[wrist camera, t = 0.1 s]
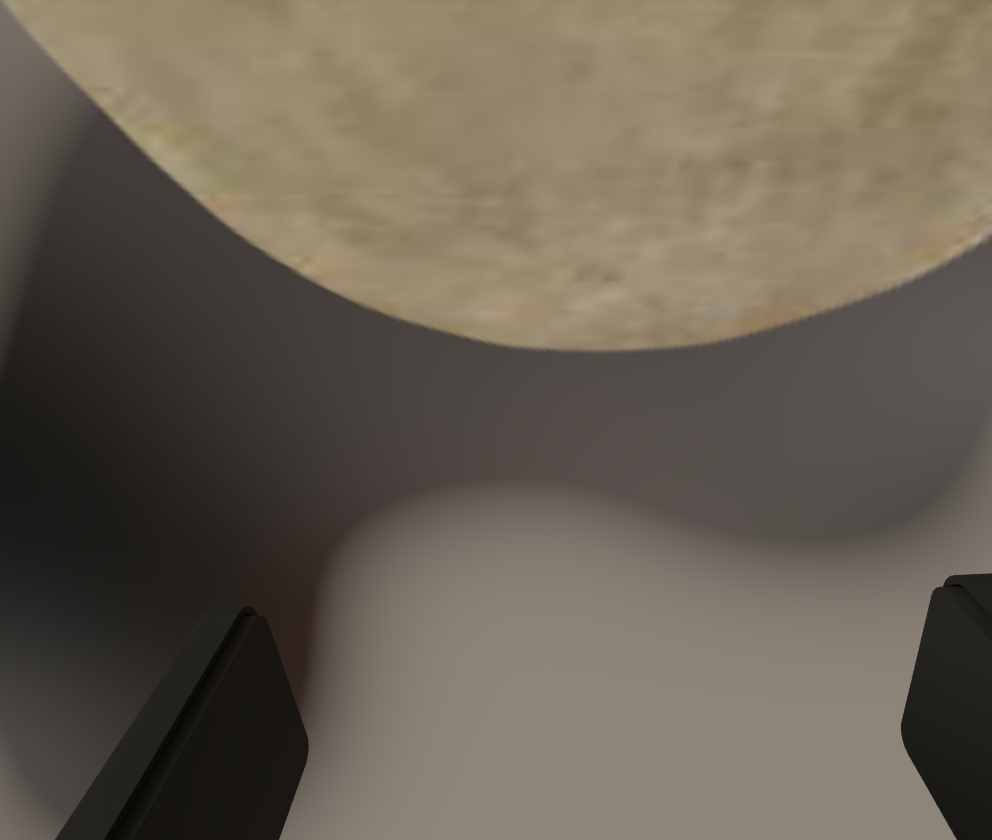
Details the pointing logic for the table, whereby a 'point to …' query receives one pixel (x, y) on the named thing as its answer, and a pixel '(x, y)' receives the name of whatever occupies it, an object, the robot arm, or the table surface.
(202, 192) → the table surface
